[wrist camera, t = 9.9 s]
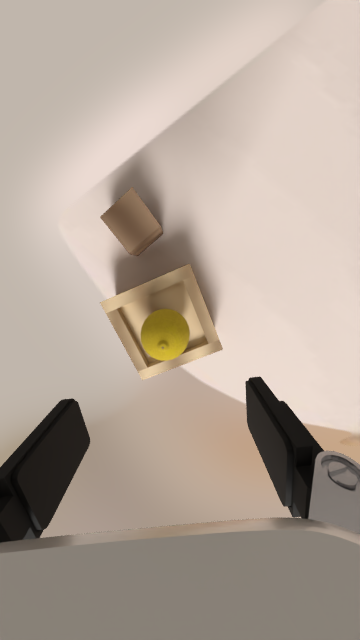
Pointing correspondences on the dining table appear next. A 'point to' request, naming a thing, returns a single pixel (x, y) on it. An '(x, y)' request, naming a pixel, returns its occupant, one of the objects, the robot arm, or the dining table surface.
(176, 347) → the lemon
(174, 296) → the oak tray
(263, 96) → the dining table surface
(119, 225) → the walnut cube
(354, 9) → the dining table surface
